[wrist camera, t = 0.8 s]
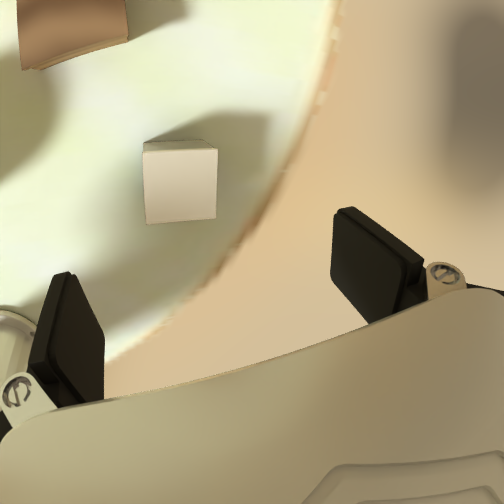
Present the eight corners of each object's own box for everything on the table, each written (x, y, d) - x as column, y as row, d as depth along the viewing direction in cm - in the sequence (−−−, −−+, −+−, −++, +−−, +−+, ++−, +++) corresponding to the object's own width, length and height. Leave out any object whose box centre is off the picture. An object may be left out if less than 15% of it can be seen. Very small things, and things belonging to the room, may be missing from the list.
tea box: (130, 43, 23) (128, 34, 19) (39, 72, 21) (21, 70, 17) (122, -35, 18) (120, -55, 14) (32, -6, 16) (16, -20, 12)
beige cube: (202, 196, 33) (216, 218, 28) (144, 200, 31) (146, 224, 26) (203, 138, 30) (217, 149, 25) (142, 141, 28) (142, 153, 23)
